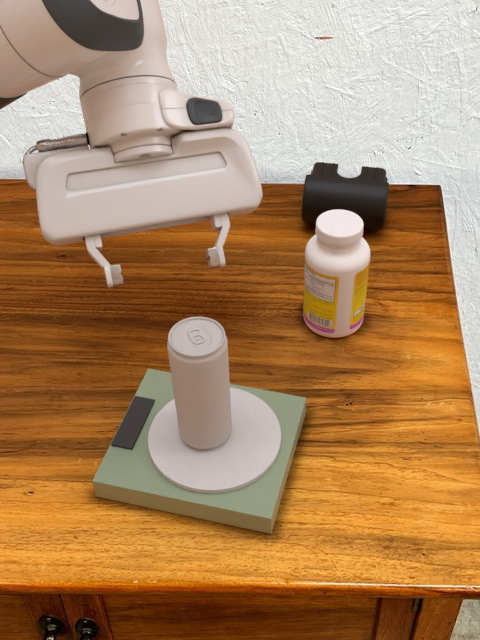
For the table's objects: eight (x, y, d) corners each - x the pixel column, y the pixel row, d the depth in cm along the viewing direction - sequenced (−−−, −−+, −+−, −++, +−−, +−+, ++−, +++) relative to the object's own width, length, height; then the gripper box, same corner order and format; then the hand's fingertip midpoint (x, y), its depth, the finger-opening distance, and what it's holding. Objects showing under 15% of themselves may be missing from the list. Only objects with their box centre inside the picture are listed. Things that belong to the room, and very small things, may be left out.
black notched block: (300, 235, 96) (302, 188, 91) (308, 203, 100) (310, 156, 96) (381, 244, 95) (387, 196, 90) (385, 211, 99) (391, 164, 95)
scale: (96, 496, 69) (90, 476, 66) (150, 384, 78) (147, 363, 76) (271, 534, 66) (271, 514, 64) (305, 413, 76) (306, 393, 73)
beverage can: (189, 460, 68) (177, 364, 59) (171, 421, 71) (158, 324, 62) (240, 442, 69) (236, 346, 61) (220, 405, 72) (214, 308, 64)
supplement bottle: (355, 296, 88) (365, 200, 78) (369, 336, 83) (382, 239, 74) (297, 303, 87) (300, 206, 78) (308, 343, 82) (313, 245, 73)
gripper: (14, 132, 65) (49, 294, 66) (248, 100, 70) (279, 252, 70) (21, 152, 71) (54, 300, 72) (236, 122, 76) (265, 262, 76)
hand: (167, 276), depth 71 cm, fingers open, 8 cm apart
